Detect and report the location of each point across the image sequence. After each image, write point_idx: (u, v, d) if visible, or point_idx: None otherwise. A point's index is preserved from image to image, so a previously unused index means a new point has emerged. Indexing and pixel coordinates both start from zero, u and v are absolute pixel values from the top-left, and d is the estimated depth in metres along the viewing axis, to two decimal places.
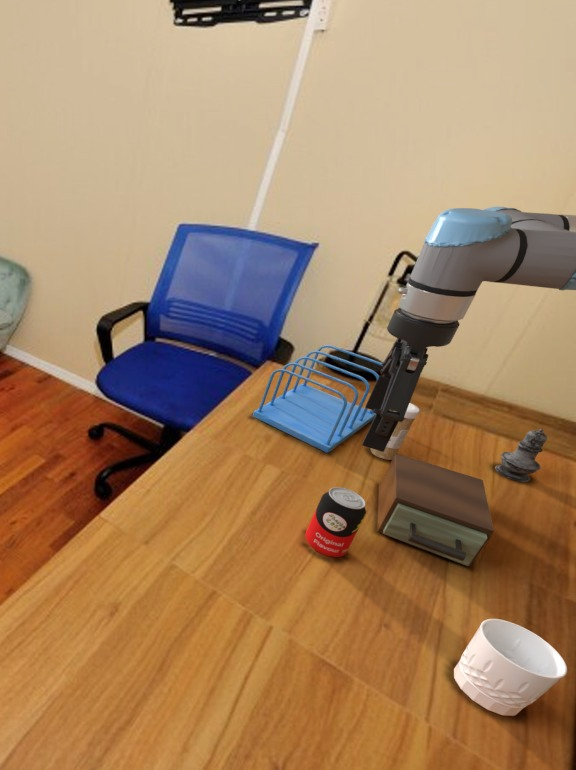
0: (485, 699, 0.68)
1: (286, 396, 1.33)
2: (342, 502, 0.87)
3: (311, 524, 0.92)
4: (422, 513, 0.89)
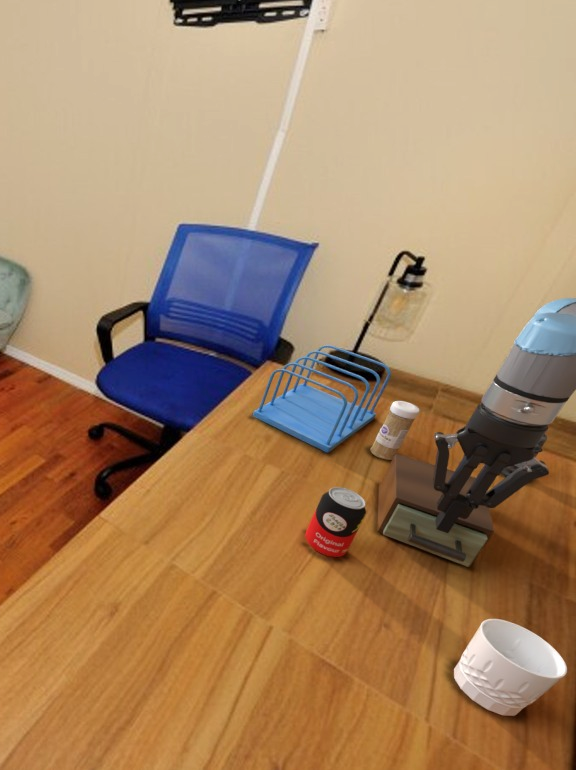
0: (485, 699, 0.68)
1: (286, 396, 1.33)
2: (342, 502, 0.87)
3: (311, 524, 0.92)
4: (422, 514, 0.89)
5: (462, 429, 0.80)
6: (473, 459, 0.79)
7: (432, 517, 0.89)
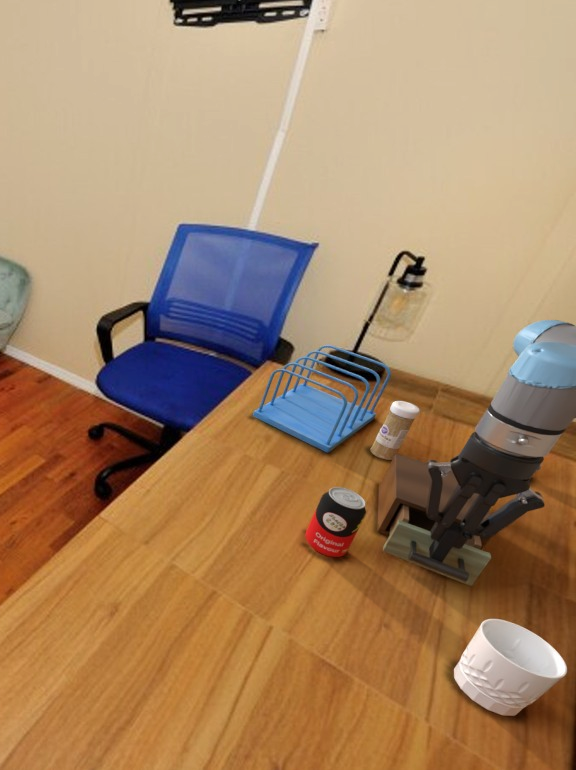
0: (485, 699, 0.68)
1: (286, 396, 1.33)
2: (342, 502, 0.87)
3: (311, 524, 0.92)
4: (423, 531, 0.86)
5: (456, 458, 0.78)
6: (467, 489, 0.77)
7: None
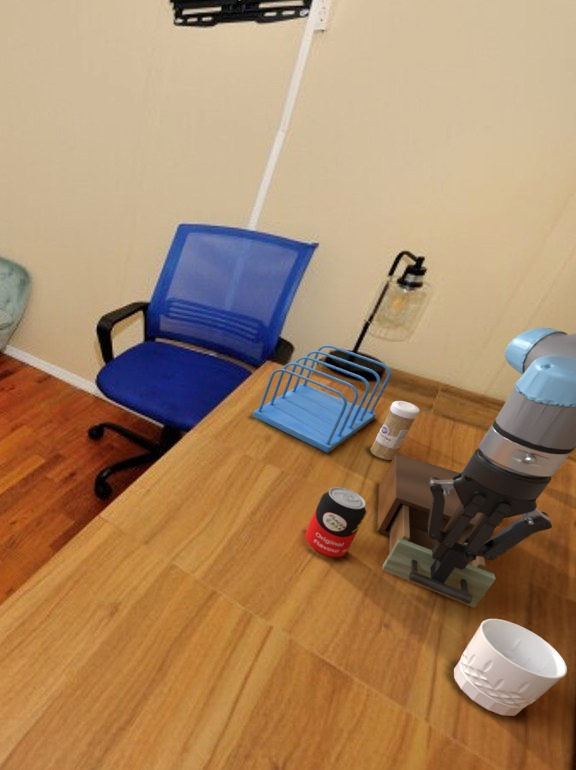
0: (485, 699, 0.68)
1: (286, 396, 1.33)
2: (342, 502, 0.87)
3: (311, 524, 0.92)
4: (424, 549, 0.83)
5: (459, 475, 0.75)
6: (470, 508, 0.74)
7: None
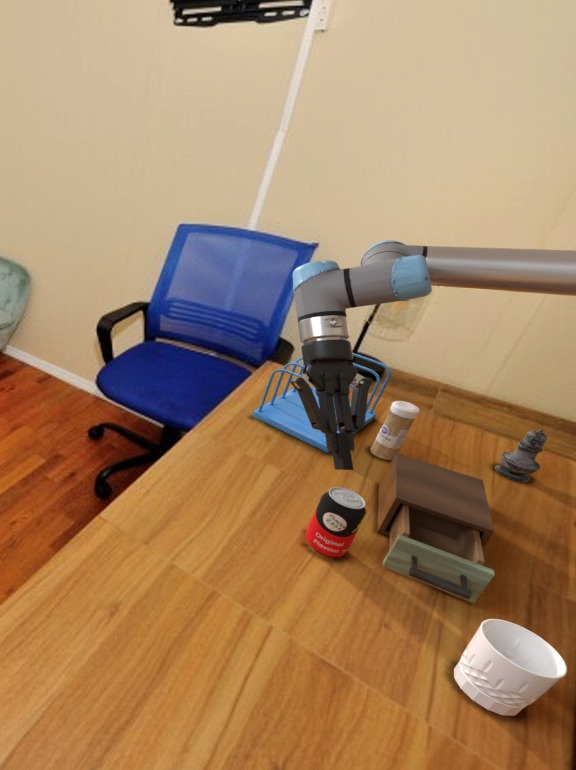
0: (485, 699, 0.68)
1: (286, 396, 1.33)
2: (342, 502, 0.87)
3: (311, 524, 0.92)
4: (424, 546, 0.83)
5: (305, 369, 0.96)
6: (328, 385, 0.92)
7: (435, 549, 0.82)
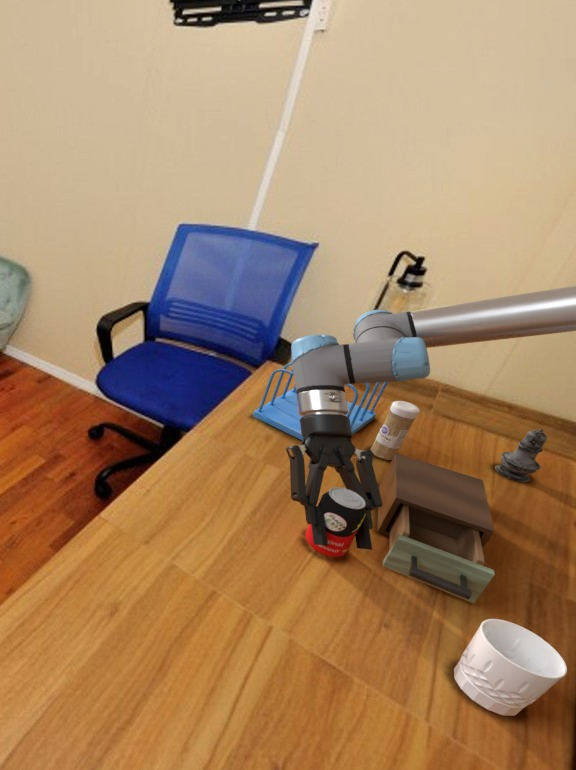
0: (485, 699, 0.68)
1: (286, 396, 1.33)
2: (342, 502, 0.87)
3: None
4: (424, 546, 0.83)
5: (303, 442, 0.94)
6: (323, 459, 0.91)
7: (435, 549, 0.82)
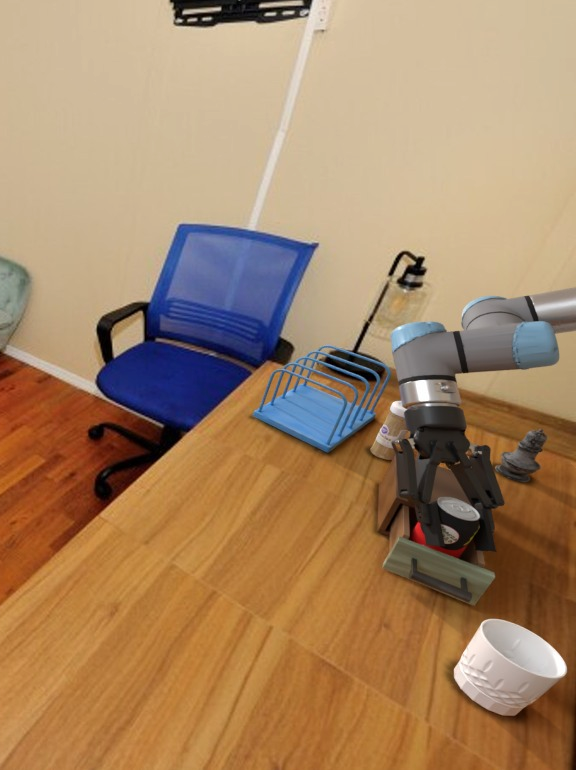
0: (485, 699, 0.68)
1: (286, 396, 1.33)
2: (454, 513, 0.81)
3: (413, 536, 0.87)
4: (424, 548, 0.83)
5: (411, 436, 0.88)
6: (435, 454, 0.85)
7: (435, 552, 0.82)
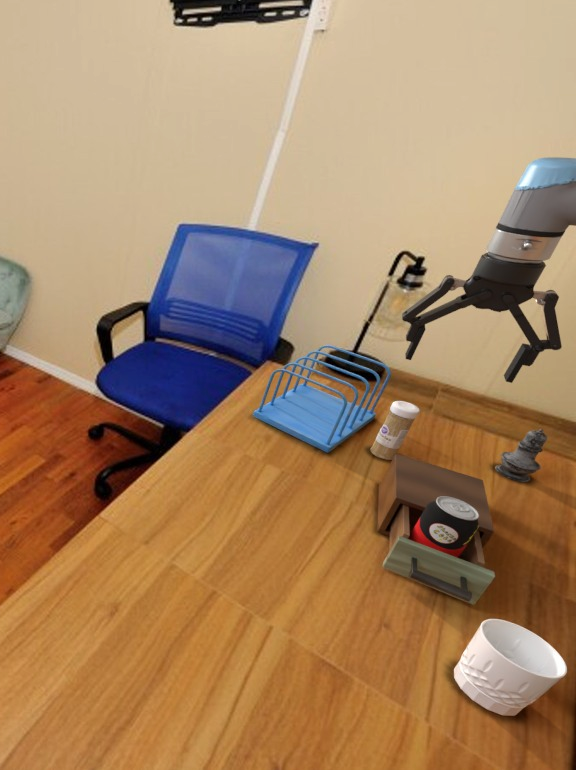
0: (485, 699, 0.68)
1: (286, 396, 1.33)
2: (453, 512, 0.81)
3: (412, 535, 0.87)
4: (424, 547, 0.83)
5: (468, 280, 0.88)
6: (470, 300, 0.88)
7: (435, 551, 0.82)
